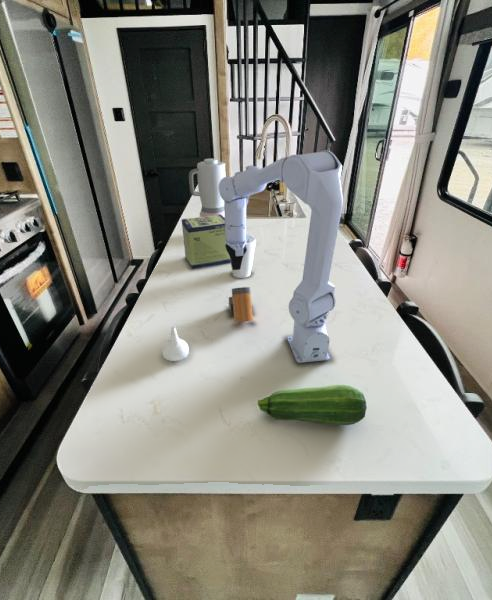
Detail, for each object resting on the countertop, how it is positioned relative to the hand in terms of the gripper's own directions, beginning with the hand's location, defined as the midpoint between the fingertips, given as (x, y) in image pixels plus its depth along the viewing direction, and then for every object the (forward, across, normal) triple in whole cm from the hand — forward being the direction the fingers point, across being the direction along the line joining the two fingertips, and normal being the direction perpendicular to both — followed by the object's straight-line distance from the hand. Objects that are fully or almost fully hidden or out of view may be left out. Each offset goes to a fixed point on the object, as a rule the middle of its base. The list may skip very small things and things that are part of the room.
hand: (236, 268), depth 93 cm
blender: (+10, +52, +4) cm, 53 cm away
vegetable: (+10, -45, -8) cm, 46 cm away
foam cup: (+10, +16, -4) cm, 20 cm away
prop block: (+10, -7, 0) cm, 13 cm away
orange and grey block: (+10, -11, 0) cm, 15 cm away
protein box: (+10, +29, +7) cm, 32 cm away
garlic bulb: (+10, -23, +18) cm, 31 cm away
